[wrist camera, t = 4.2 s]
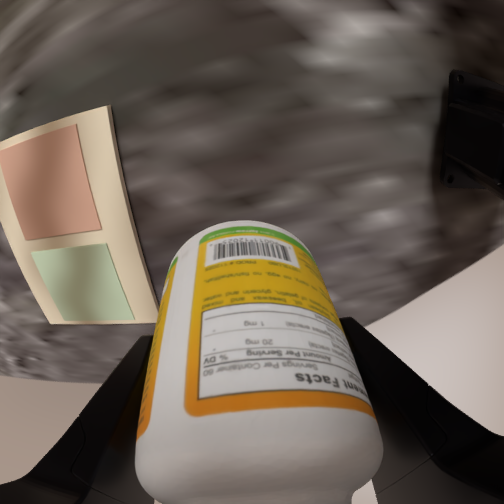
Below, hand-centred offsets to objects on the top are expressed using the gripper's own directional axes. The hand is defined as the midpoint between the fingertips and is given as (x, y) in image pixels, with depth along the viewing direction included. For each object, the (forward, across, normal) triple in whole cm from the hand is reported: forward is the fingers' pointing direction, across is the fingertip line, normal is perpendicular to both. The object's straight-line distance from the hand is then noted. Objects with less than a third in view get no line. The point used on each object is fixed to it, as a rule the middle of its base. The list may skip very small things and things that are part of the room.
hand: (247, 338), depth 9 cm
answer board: (+8, +10, 0) cm, 13 cm away
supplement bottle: (+3, 0, 0) cm, 3 cm away
